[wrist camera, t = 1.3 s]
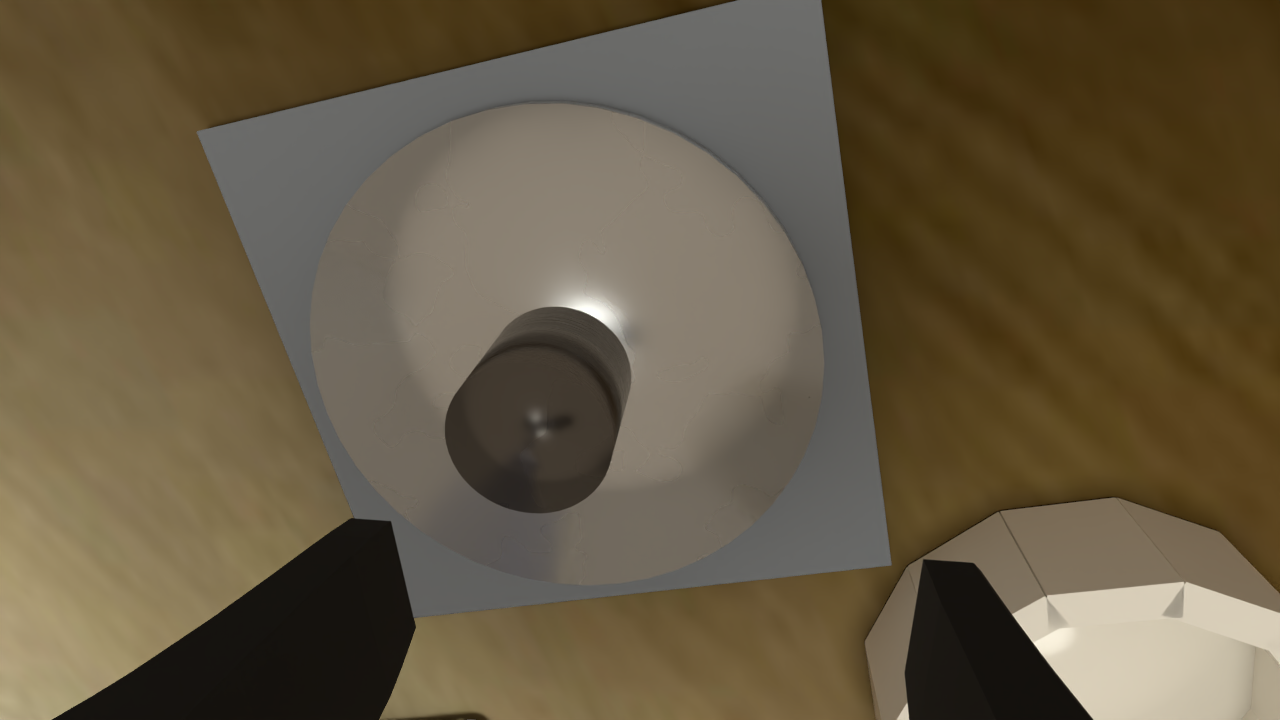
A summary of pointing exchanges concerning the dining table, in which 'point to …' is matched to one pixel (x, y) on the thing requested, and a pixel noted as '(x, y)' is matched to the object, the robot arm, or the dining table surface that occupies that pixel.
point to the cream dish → (1113, 612)
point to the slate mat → (669, 94)
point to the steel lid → (567, 343)
